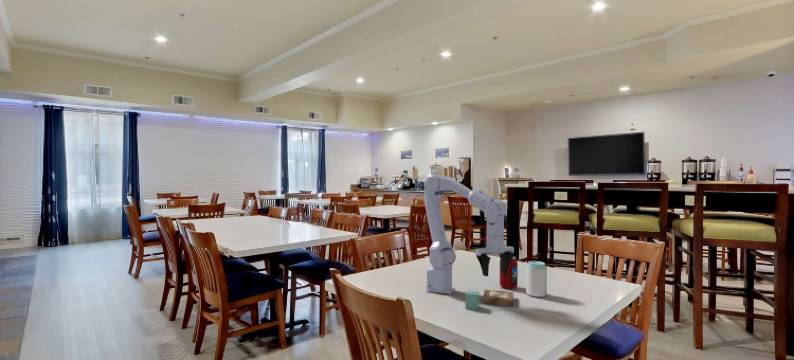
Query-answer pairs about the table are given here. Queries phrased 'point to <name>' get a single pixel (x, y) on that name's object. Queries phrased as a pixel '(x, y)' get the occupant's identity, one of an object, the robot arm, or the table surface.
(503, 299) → the walnut base
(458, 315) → the table surface
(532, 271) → the can
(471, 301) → the teal block
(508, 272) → the beverage can
